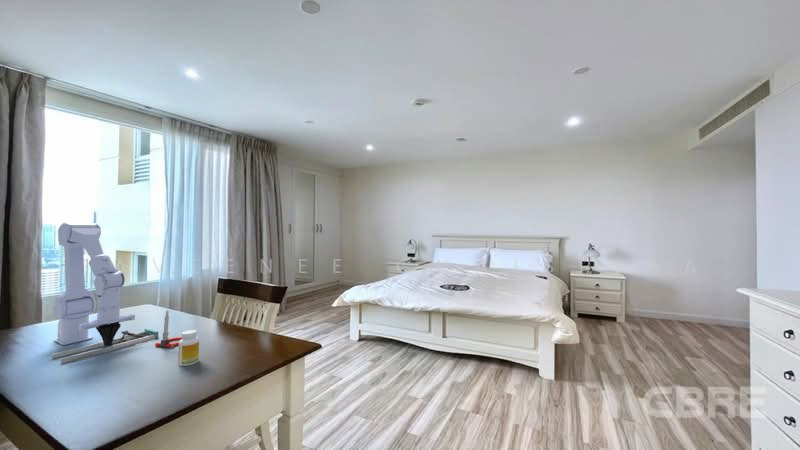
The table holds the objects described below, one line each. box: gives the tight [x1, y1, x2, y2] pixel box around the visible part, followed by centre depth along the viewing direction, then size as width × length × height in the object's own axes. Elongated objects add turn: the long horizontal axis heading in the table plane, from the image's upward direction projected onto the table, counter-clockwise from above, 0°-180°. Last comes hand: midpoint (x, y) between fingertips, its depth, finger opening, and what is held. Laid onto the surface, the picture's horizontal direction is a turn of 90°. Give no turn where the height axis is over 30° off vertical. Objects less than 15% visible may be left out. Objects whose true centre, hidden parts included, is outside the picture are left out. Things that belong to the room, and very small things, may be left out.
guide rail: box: [51, 327, 159, 365], centre depth 108 cm, size 10×26×2 cm, turn 153°
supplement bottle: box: [177, 329, 200, 367], centre depth 97 cm, size 5×5×10 cm
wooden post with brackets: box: [118, 330, 148, 344], centre depth 114 cm, size 2×8×4 cm, turn 125°
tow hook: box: [154, 310, 182, 349], centre depth 114 cm, size 8×13×9 cm
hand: (107, 345), depth 108 cm, fingers closed
